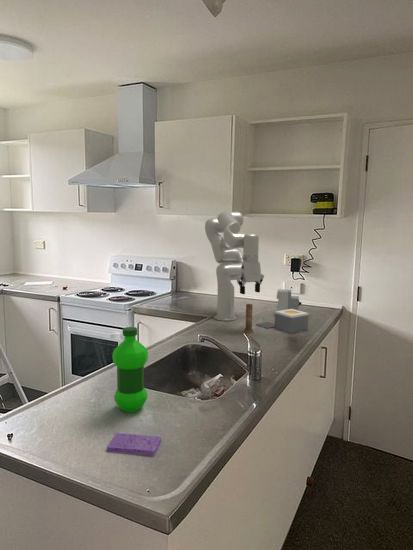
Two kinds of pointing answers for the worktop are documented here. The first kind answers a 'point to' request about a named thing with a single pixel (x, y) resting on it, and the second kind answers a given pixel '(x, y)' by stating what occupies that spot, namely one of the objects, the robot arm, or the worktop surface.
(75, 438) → the worktop surface
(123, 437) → the sponges
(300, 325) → the square socket block
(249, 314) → the wooden pepper mill
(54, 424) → the worktop surface
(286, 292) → the circuit breaker
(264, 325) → the rubber mat
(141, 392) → the plastic bottle
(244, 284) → the robot arm
